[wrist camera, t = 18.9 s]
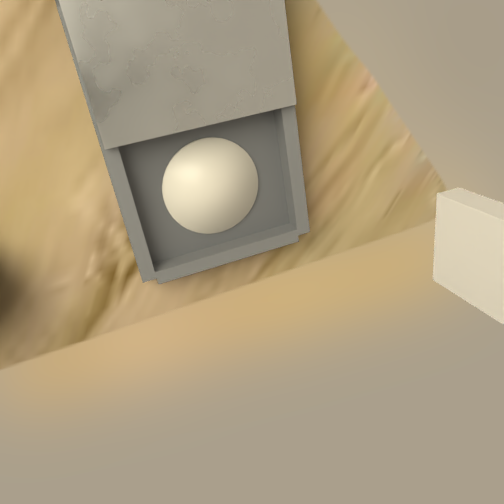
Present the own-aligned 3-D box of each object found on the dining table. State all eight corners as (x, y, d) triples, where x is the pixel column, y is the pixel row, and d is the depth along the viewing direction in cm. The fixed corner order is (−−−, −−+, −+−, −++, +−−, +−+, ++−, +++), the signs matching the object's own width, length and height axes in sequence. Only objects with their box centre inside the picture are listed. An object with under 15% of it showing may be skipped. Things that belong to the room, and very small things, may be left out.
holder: (140, 272, 36) (144, 288, 33) (55, 0, 27) (53, -4, 25) (296, 226, 39) (310, 237, 36) (262, -34, 30) (277, -41, 28)
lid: (104, 147, 29) (107, 158, 26) (31, -90, 23) (25, -107, 21) (293, 103, 32) (313, 108, 29) (266, -118, 26) (288, -136, 23)
